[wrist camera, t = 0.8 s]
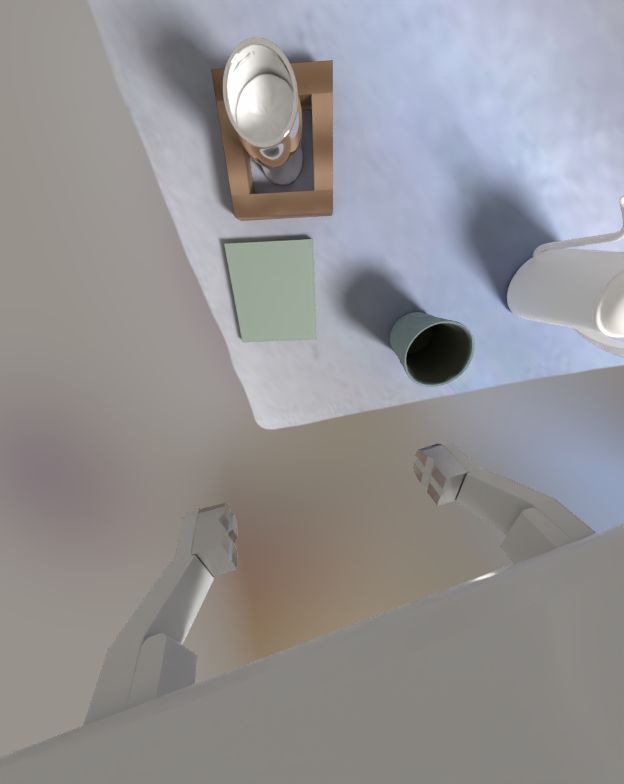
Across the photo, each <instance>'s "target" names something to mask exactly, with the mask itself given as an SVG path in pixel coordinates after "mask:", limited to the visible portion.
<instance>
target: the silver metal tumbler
mask: <svg viewBox="0 0 624 784" xmlns="http://www.w3.org/2000/svg"><path fill="white" fill-rule="evenodd" d="M223 98H224V104H225V108H226V111H227V114H228V117H229V119H230V122H231V123H232V125H233V127H234V130H235V132H236V134H237V136H238V138H239V140H240V142H241V143H242V145H243V147H244V148H245V150H246V151H247V152H248V154H249V155H250V156H251V157H252V159H253V160H255V161H256V162H257V163H258V164H259V165H261V167H262V169H263V171H264V173H265V175H266V176H267V177H268V178H269V179H270V180H271V181H272V182H274V183H276V184H279V185H287V184H289V183H291V182H293V181H294V180H295V179H296V178H297V176H298V175H299V173H300V171H301V168H302V163H303V152H302V147H301V138H302V131H303V120H302V109H301V102H300V97H299V93H298V89H297V83H296V79H295V75H294V72H293V69H292V67H291V64H290V62H289V60H288V59H287V57H286V56H285V54H284V53H283V52H282V50H281V49H280V48H279V47H278V46H277V45H275V44H274V43H273V42H271V41H269V40H267V39H264V38H257V37H256V38H249V39H247V40H245V41H243V42H241V43H240V44H239V45H238V46H237V47H236V48H235V49H234V50H233V52H232V53H231V55H230V57H229V59H228V61H227V64H226V67H225V71H224V76H223Z"/></svg>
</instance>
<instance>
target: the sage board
mask: <svg viewBox="0 0 624 784" xmlns="http://www.w3.org/2000/svg"><path fill="white" fill-rule="evenodd" d="M224 246H225V251H226V257H227V262H228V267H229V273H230V278H231V283H232V289H233V294H234V300H235V305H236V310H237V316H238V321H239V326H240V332H241V337H242V342H265V341H291V340H316V316H315V288H314V260H313V239H306V240H287V241H268V242H248V243H229V244H224Z"/></svg>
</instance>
